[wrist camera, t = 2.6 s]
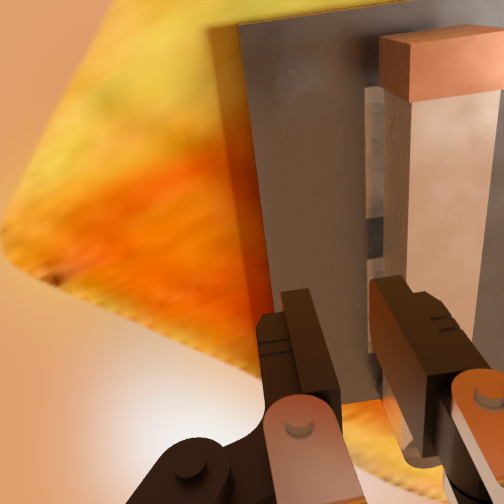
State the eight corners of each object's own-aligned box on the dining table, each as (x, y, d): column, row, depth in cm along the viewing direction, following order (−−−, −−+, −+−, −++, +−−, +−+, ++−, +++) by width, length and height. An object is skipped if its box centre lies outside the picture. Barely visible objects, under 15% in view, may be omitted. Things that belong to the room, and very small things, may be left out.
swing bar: (427, 401, 38) (462, 466, 33) (373, 409, 38) (398, 475, 33) (452, 22, 25) (515, 29, 20) (369, 34, 25) (410, 44, 20)
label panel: (237, 24, 26) (238, 25, 25) (564, -24, 26) (587, -25, 25) (285, 398, 39) (288, 415, 38) (502, 367, 39) (514, 382, 38)
